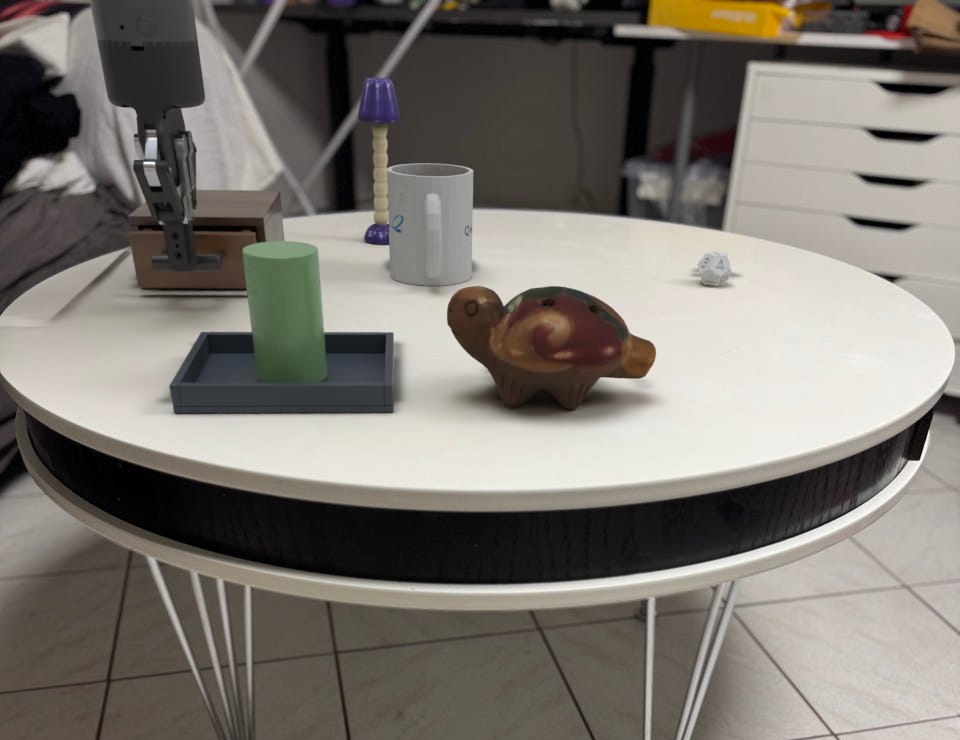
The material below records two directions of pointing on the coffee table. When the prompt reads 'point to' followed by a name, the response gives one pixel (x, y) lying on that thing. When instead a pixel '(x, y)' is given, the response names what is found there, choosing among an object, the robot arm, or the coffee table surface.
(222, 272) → the drawer
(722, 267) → the game die
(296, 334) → the can
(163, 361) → the coffee table surface
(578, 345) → the decorative turtle
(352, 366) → the tray
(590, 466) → the coffee table surface
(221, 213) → the cabinet
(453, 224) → the mug
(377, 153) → the toy lamp
